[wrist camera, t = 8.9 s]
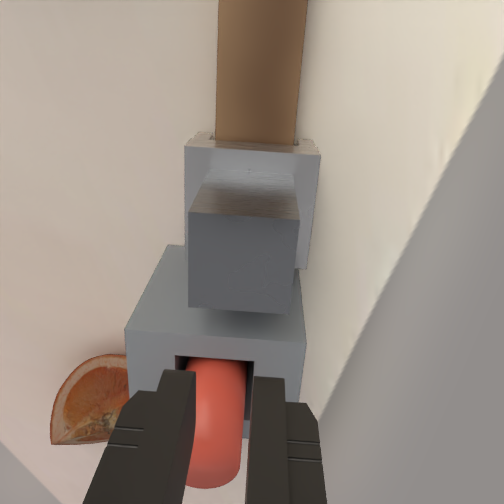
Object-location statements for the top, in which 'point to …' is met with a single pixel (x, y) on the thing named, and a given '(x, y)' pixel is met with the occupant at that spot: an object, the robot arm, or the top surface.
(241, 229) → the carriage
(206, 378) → the button
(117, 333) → the top surface
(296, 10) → the rail
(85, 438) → the fruit slice
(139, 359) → the cabinet
